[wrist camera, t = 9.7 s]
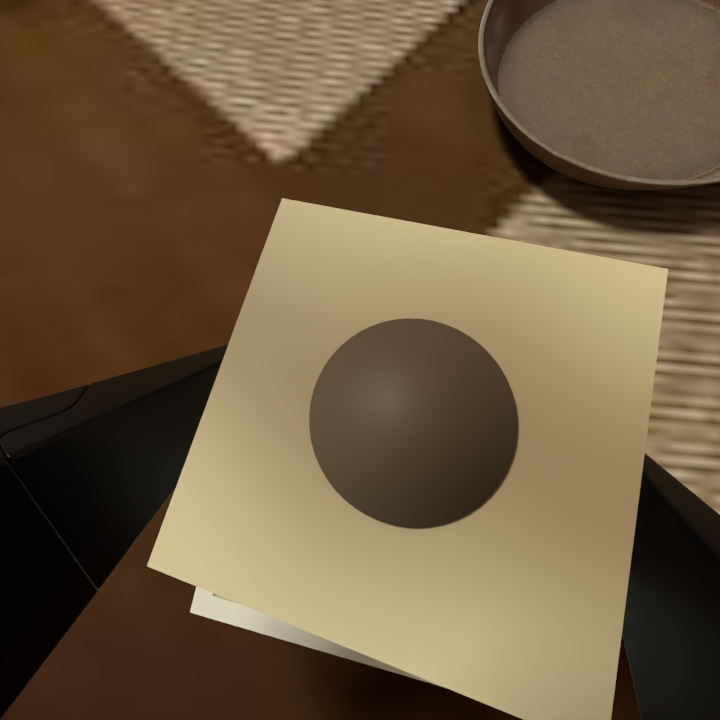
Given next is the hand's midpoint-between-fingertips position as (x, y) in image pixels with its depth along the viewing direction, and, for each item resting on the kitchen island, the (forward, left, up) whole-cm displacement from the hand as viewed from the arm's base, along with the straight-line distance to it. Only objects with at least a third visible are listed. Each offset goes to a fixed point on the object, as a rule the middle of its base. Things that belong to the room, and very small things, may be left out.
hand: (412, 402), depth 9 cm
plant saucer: (+21, -9, -10) cm, 25 cm away
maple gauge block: (-1, 0, -8) cm, 9 cm away
